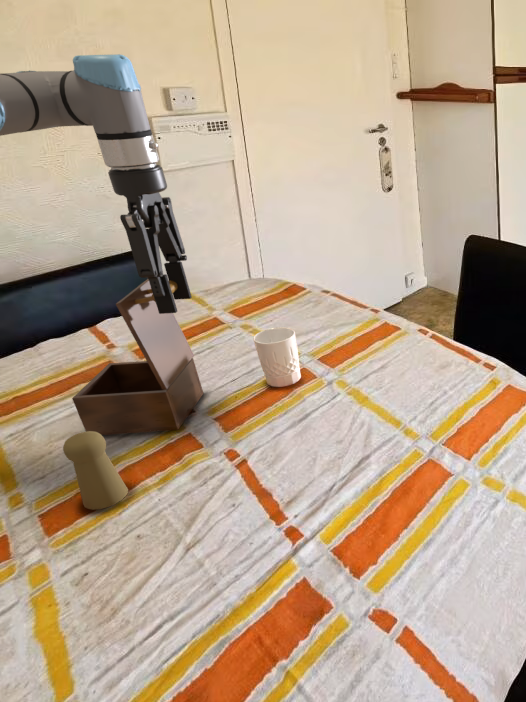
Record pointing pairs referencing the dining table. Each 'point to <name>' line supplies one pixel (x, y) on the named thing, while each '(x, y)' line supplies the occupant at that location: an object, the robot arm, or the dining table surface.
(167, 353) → the lid
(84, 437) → the cork
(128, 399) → the chest
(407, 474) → the dining table surface
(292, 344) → the white cup
